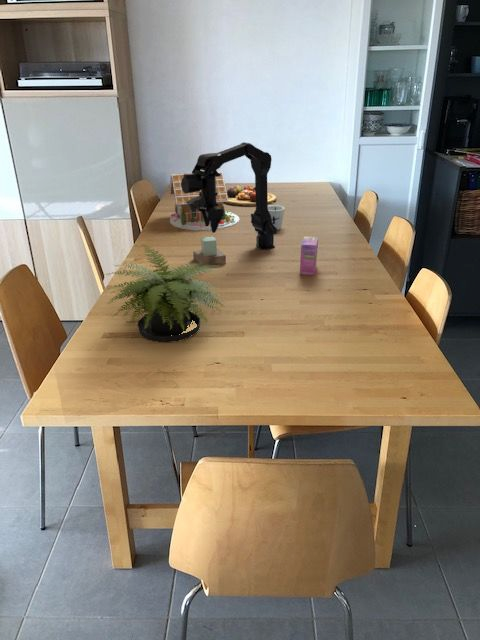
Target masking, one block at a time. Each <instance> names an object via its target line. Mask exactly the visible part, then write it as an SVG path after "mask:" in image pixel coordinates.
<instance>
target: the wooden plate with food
mask: <svg viewBox="0 0 480 640" xmlns="http://www.w3.org/2000/svg"><path fill="white" fill-rule="evenodd" d="M226 192H227V198H228V202H225V203H224V204H227V203H228V204H227V205H231V204H233V206H238V205H243V206H242V207H256V193H255V187H253V186H249V185H245V186H244V187H243V189H242V187H241V186H240V185H236V186H235V185H234V186H231V187H229V188H228V189H227V190H226ZM267 194H268V205H270V204H269V203H271V204H273V203H275V202H276V201H277V196H276V195H274V194H273V193H269V192H267ZM274 201H275V202H274ZM272 202H273V203H272Z"/></svg>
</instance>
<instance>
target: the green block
mask: <svg viewBox="0 0 480 640" xmlns="http://www.w3.org/2000/svg"><path fill="white" fill-rule="evenodd" d="M200 239H201V241H200V242H201V250H202V253H203V255H204V256H211V255H217V249H218V248H217V247H218V246H217V239H216V238H215V237H214V236H207V237H206V236H204V237H203V236H202V237H200Z"/></svg>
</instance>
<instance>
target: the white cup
mask: <svg viewBox="0 0 480 640" xmlns="http://www.w3.org/2000/svg"><path fill="white" fill-rule="evenodd" d="M285 210H286V209H285V207H284V206H281V205H279V204H278V205H276V204H275V205H274V204H273V205H271V204H268V211H269V213H270V215H271V219H272V224H273V225H274V226H275V227H276V228H277V231H279V229H280V230H281V229H282V226H283V220H284V214H285Z"/></svg>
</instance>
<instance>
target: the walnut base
mask: <svg viewBox="0 0 480 640" xmlns="http://www.w3.org/2000/svg"><path fill="white" fill-rule="evenodd" d="M192 253H193V255H192V256H193V257H192V258H193V261H195V263H196V264H197V265H198V266H200V265H201V266H202V267H203V265H204V266H205V265H207V266H208V267H207V266H206V268H209V267H210V266H211V267H213V266H214V267H215V266H218V265H219V266H222V265H226V264H227V263H226V262H227V260H226V259H227V257H226V254H225V253H224V252H222V251H221V250H220V249H218V248H217V255H211V256H204V255H203V253H202V249H200V250H193V252H192ZM209 265H210V266H209ZM201 266H200V267H201Z"/></svg>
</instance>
